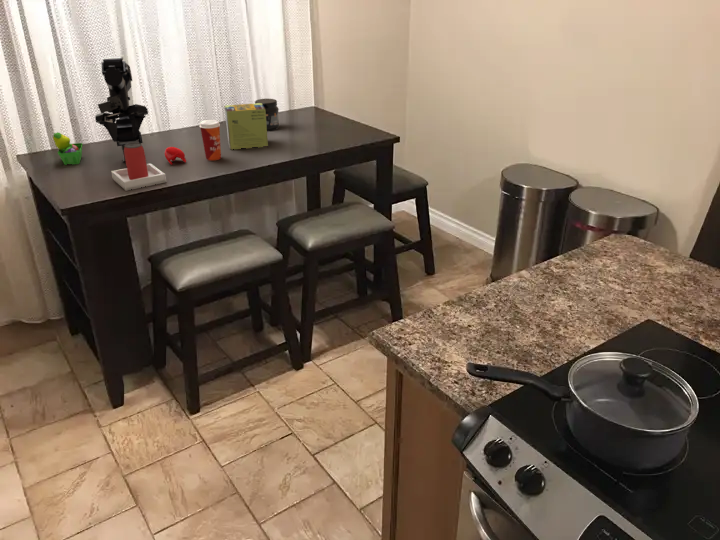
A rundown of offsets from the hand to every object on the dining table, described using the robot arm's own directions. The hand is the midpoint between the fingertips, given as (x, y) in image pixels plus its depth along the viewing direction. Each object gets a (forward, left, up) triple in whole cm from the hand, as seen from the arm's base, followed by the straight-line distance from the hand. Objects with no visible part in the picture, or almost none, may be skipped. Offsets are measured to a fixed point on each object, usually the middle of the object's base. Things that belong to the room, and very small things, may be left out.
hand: (125, 139), depth 211 cm
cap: (-9, +16, -13) cm, 22 cm away
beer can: (+8, +3, -12) cm, 15 cm away
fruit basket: (-22, -22, -13) cm, 34 cm away
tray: (+8, +3, -13) cm, 15 cm away
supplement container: (-47, +57, -13) cm, 75 cm away
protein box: (-24, +45, -13) cm, 52 cm away
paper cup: (-10, +30, -13) cm, 34 cm away
